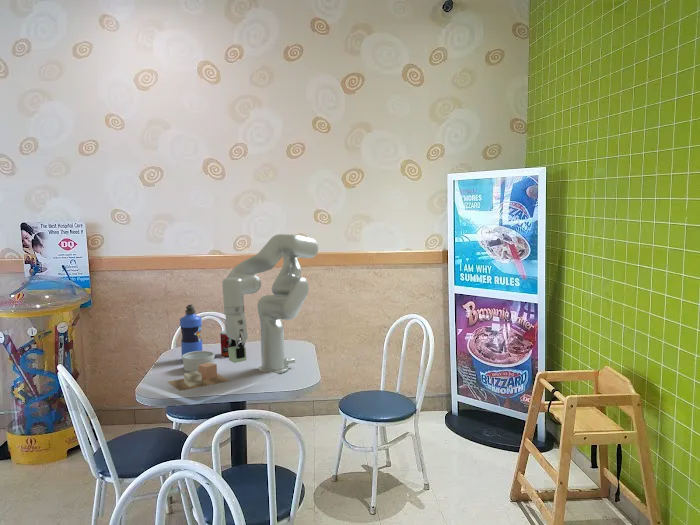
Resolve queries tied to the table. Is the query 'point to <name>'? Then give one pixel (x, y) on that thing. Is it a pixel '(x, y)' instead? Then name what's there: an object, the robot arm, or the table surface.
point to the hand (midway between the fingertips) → (237, 355)
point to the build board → (204, 382)
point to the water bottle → (191, 331)
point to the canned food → (224, 343)
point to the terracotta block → (208, 370)
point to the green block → (233, 355)
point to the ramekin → (197, 359)
